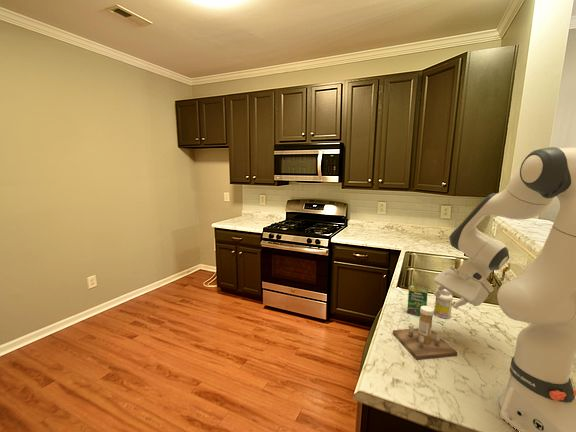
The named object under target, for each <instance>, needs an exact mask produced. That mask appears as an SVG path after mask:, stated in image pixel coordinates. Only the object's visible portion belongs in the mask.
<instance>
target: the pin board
mask: <svg viewBox="0 0 576 432" xmlns="http://www.w3.org/2000/svg"><path fill="white" fill-rule="evenodd" d="M408 326H409V327H408V328H404V329H394V330H392V335H393V336H395V338H396V339H397V341H399V342H400V343H401V345H402V346H404V348H405V349H406V350H407V351H408V352H409V353H410V354H411V355H412V356H413V358H414V359H415V360H418V361H420V360H428V359H437V358H448V357H449V358H450V357H457V356H458V351H457V350H456V349H454V347H452V346H451V345H450V344H449V343H447V341H445V340H444V339H443V338H441V334H439V333H436V332H435V331H434V330H432V329H431V337H430V343H429V344H424V336H422V335H420V336H419V340H418V330H419V327H417V328H416V327H415V328H414V326H413V325H408Z"/></svg>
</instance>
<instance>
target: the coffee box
mask: <svg viewBox="0 0 576 432" xmlns="http://www.w3.org/2000/svg"><path fill="white" fill-rule="evenodd" d="M428 294H429V289H428V288H426V287H419V286H415V285H409V286H408V294H407V311H406V313H407V314H409V315H413V316H417V317H420V307H421V306H428Z"/></svg>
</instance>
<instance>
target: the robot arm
mask: <svg viewBox="0 0 576 432" xmlns="http://www.w3.org/2000/svg"><path fill="white" fill-rule="evenodd" d="M555 197H556V198H557V199H558V201H559V205H560V206H559V210H558V213H557V215H556V217H555V220H554V221H553V224H552V226H551V229H550V231H549V233H548V235H547V236H546V240H545V242H544V244H543V246H542V247H541V248H542V249H541V251H540V252H539V253H538V254H537V256H536V258H535V259H534V260H533V261H532V262H531V263H530V264H529V265H528V266H527V267H526V268H525V269H524V270H523V271H522V272H521V273H520V274H518V275H516V276H515V277H514V278H513V279H510V280H508V281H507V282H504V283H503V284H501V286H500V287H499V288H498V290H497V296H496V297H497V303H498V306H499V308H500V310H501V311H502V312H503V313H504V315H505V316H506V317H508V318H509V319H511V320H513V321H518V322H522V323H527V324H529V325H527V326H525V327H524V328H522V329H521V330H520V331H519V333H518V335H517V338H516V343H515V349H514V350H515V351H514V356H512V357H511V361H510V365H509V373H510V374H509V378H508V381H507V384H506V386H505V388H504V391H503V392H502V393H501V395H500V396H499V399H498V403H499V406H500V413H499V417H500V418H501V420H503V419H504V420H505V421H504V420H503V421H504V422H505V423H507V424H508V423H509V424H510V425H509V424H508V425H509V426H510V427H512V428H513V427H514V428H515V429H514V428H513V429H514V430H516V429H517V430H518V431H520V432H576V389H574V387H573V383H572V380H571V378H570V377H571V376H570V375H571V372H572V367H573V364H574V361H575V357H576V147H575V146H574V147H572V146H571V147H556V146H555V147H554V146H552V147H551V146H550V147H544V148H539V149H535V150H533V151H531V152H530V153H529V154H527V155H526V156H525V158H524V159H523V160H522V163H521V164H520V168H519V169H518V171H516V173H515V174H514V175H513V177H512V178H511V179H510V181H509V182H508V184H507V186H506V187H505V188H504V189H503V190H502V191H501V192H493V193H490V194H489V195H487V196H486V197H484V199H482V200H481V201H480V202H479V203H478V204H477V206H476V207H475V208H473V210H472V211H471V212H470V213H469V214H468V215H467V216H466V218H465V219H464V220H462V222H461V223H460V224H459V225H458V226H457V227H455V228H454V229H453V230H452V232H451V233H450V234H449V237H448V239H449V243H450V246H451V247H452V248H454V249H456V250H458V251H460V252H461V253H463V254H465V256H467V257H469V258H468V259H466V260H465V261H464V262H463V263H462V264H461V265H460V266H459V267H458V268H454V267H453V266H452V267H447V268H446V269H443V270H442V271H441V272H440V273H437V275H436V276H435V277H434V280H433V281H434V282H435V284H436V285H437V286H436V288H435V289H436V290H435V291H434V292H433V295H434V296H435V298H436V297H439V296H441V294H440V293H441V290H444V289H446V290H447V291H449V292H451V293H450V294H453V295H455V296H456V297H458V298H459V300H457V301H455V300H454V301H452V304H451V305H452V308H454V309H455V310H457V309H458V308H459V307H462V306H464V305H465V306H466V305H467V304H470V305H472V306H474V307H478V306H481V305H482V304H483V303H484V302H485V301H486V299H487V298H488V297H489V294H490V293H492V292H493V291H494V287H493V286H492V285H491V283H490V282H489V281H488V277H489V275H490V274H491V273H492V272H494V271H499V270H500V269H501V268H502V267H503V266H504V265H505V264H506V263H507V262H508V261H509V260H510V255H509V252H510V249H509V247H508V246H507V245H506V244H505V243H504V242H503V241H500V240H498V239H495V238H492V237H491V236H489V235H487V234H485V233H484V232H483V231H480V230H479V229H478V228H477V226H478V225H479V224H480V223H481V222H482V221H483V220H484V219H485V218H486V217H488V216H494V217H501V218H506V219H509V220H520V221H521V220H530V219H533V218H536V217H538V216H539V215H541V214H542V213H543V212H544V210H545V209H547V207H549V205H550V204H551V203H552V201H553V200H554V198H555ZM517 430H516V431H517ZM518 431H517V432H518Z"/></svg>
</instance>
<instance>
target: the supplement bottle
mask: <svg viewBox="0 0 576 432" xmlns="http://www.w3.org/2000/svg"><path fill="white" fill-rule="evenodd" d="M440 294H441V296H439V297H436V296H435V304H434V314H435V315H436V316H437V317H439V318H444V319H448V318H450V317H451V315H452V308H453V307H452V305H451V304H452V303H453V300H454V297H453V295H452V293H451V292H449V291H447V290H446V289H444V290H441V293H440Z"/></svg>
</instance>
